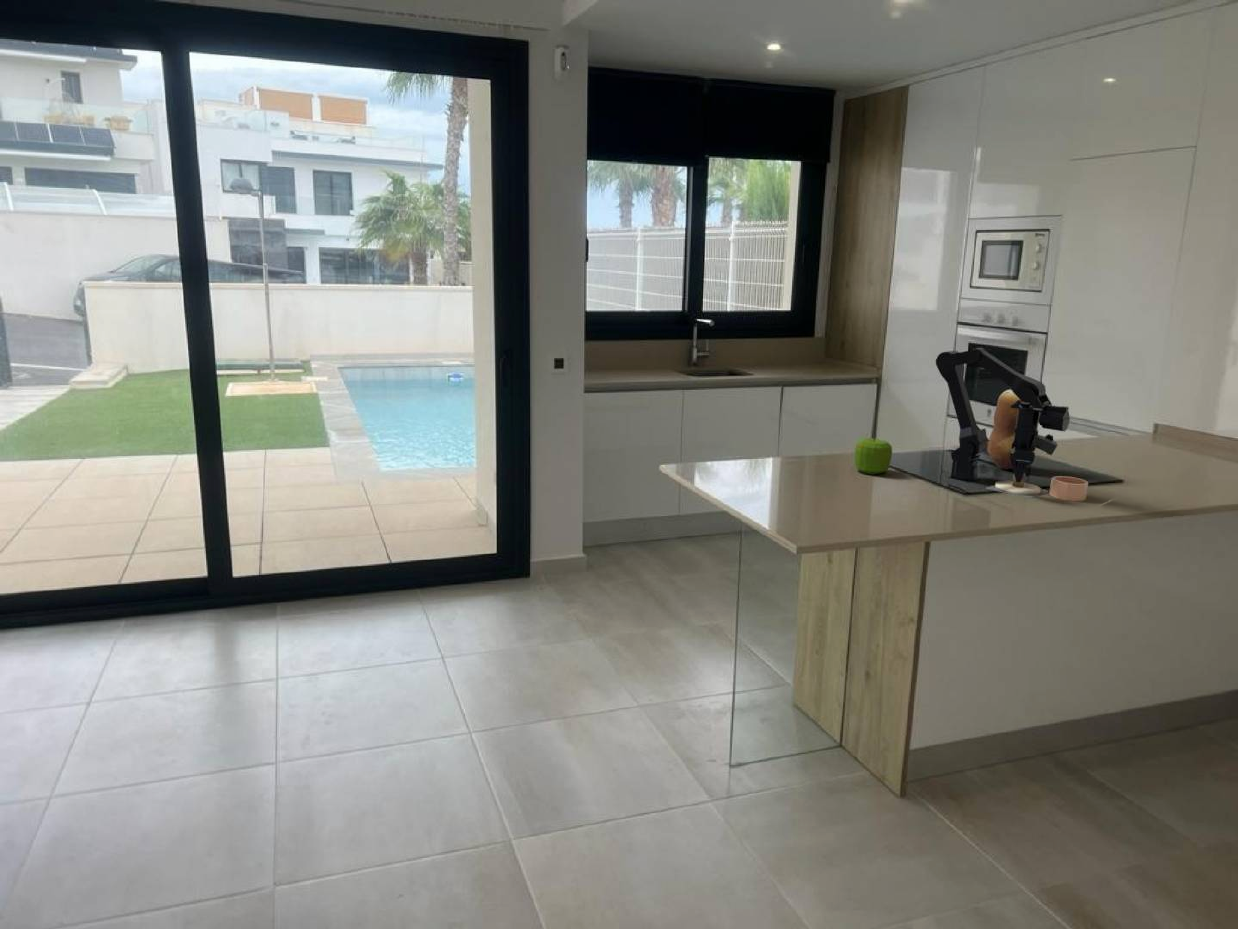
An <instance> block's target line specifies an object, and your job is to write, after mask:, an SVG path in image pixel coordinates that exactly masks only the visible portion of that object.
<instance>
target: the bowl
mask: <svg viewBox="0 0 1238 929" xmlns="http://www.w3.org/2000/svg"><path fill="white" fill-rule="evenodd" d="M1050 481H1051V482H1050V486H1049V492H1048V493H1049V495H1050V496H1051V497H1053V498H1056V499H1060V500H1064V501H1073V502H1081V501H1082V502H1083V501H1086V500H1087V494H1088V488H1089V482H1088V481H1087V480H1085V479H1083V478H1079V477H1078V478H1077V477H1073V476H1066V475H1063V476H1062V475H1060V476H1059V475H1056V476H1053V477H1051V480H1050Z"/></svg>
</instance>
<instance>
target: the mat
mask: <svg viewBox="0 0 1238 929" xmlns="http://www.w3.org/2000/svg"><path fill="white" fill-rule="evenodd" d="M986 489H987V490H991V491H995V492H1000V493H1005V494H1009V495H1013V496H1017V497H1021V498H1025V499H1034V498H1036V497H1038V496H1041V495H1044V494H1046V493H1049V492H1050V490H1048V489H1042V488H1041V490H1040V494H1037V495H1018V494H1011V493H1007V492H1003V491H1000V490H998V489H996V488H995V484H993V485H990V486H987V487H985V490H986Z"/></svg>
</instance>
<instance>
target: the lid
mask: <svg viewBox="0 0 1238 929" xmlns="http://www.w3.org/2000/svg"><path fill="white" fill-rule="evenodd" d="M1025 478H1026V472H1024V474H1023V477H1022V479H1021V482H1020V483H1019V482H1016V479H1015V476H1014V475H1013V478H1012V480H998V481H996V482H995V484H994V485H995V488H996V489H998V490H1000V491H1003V492H1007V493H1006V494H1008V493H1011V494H1010V495H1012V494H1018V495H1037V494H1040V490H1041V489H1042V488H1041V487H1040V486H1038V485H1035V484H1033V483H1030V482H1029V483H1028V482H1025ZM1003 492H1002V493H1003Z"/></svg>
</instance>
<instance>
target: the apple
mask: <svg viewBox="0 0 1238 929" xmlns="http://www.w3.org/2000/svg"><path fill="white" fill-rule="evenodd" d="M892 455H893V448H892V444H890V443H889V442H888V441H886V440H883V439H878V438H876V437H872V438H867V437H866V438H861V439H859V440H858V441H857V442H856V444H855V447H854V455H853V456H854V457H853V458H854V467H856V468H857V469H858V471H859V472H861V473H864V474H867V475H879V474H882V473H884V472H887V471H888V470H889V468H890V466H891V462H892V461H891V460H892Z"/></svg>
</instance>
